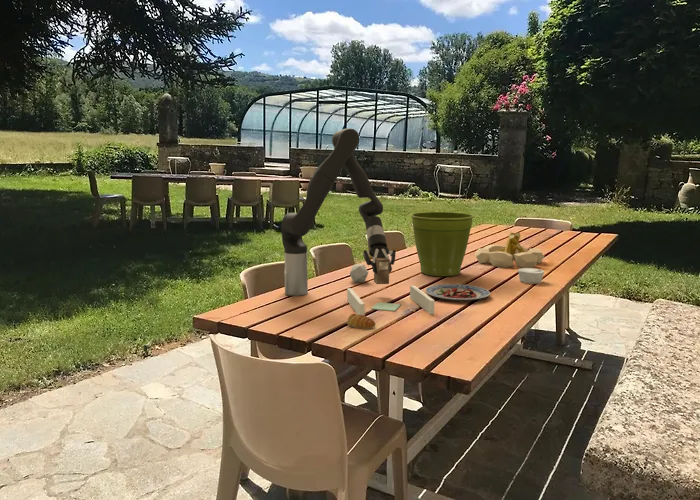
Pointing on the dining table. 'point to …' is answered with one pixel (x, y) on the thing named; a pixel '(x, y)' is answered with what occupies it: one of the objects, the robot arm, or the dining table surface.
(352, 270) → the die
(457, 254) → the plant pot
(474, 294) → the ceramic plate
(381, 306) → the pad
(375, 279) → the walnut block
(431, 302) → the arena
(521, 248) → the campfire
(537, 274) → the ramekin
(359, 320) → the pastry
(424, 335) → the dining table surface
